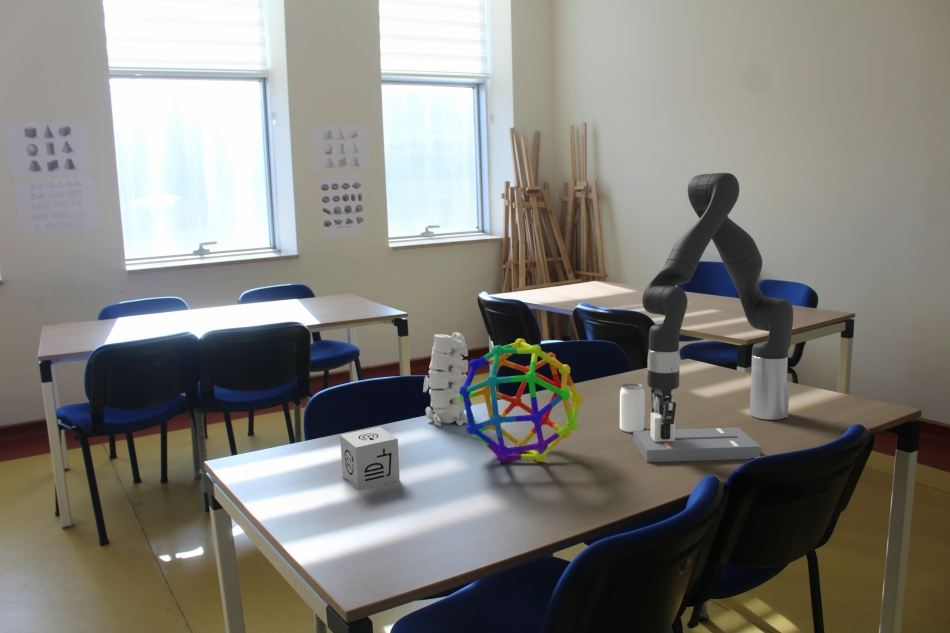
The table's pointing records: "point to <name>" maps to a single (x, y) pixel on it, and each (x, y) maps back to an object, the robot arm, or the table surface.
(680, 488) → the table surface
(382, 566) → the table surface
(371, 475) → the icon cube
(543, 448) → the geometric model
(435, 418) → the anatomical model
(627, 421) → the can
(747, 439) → the slide board
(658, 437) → the fader cap
